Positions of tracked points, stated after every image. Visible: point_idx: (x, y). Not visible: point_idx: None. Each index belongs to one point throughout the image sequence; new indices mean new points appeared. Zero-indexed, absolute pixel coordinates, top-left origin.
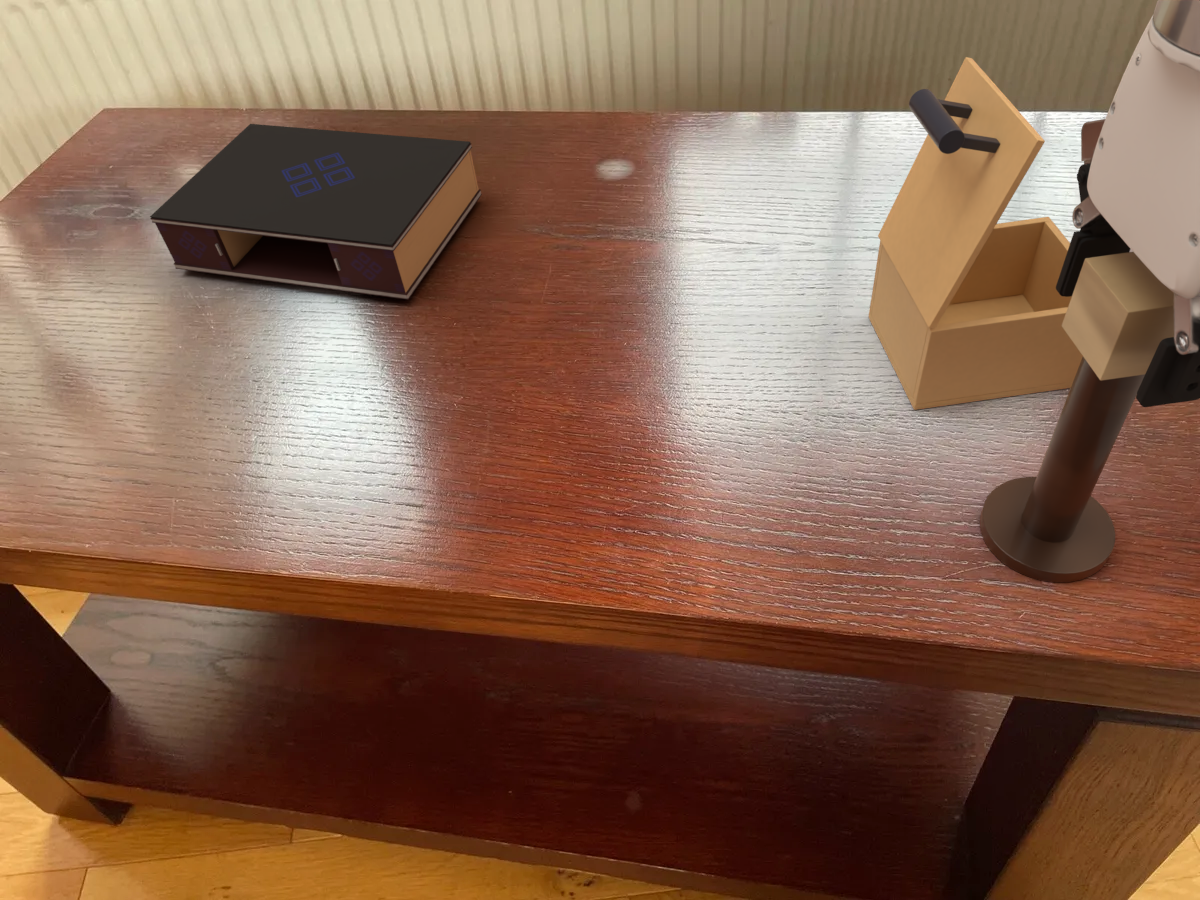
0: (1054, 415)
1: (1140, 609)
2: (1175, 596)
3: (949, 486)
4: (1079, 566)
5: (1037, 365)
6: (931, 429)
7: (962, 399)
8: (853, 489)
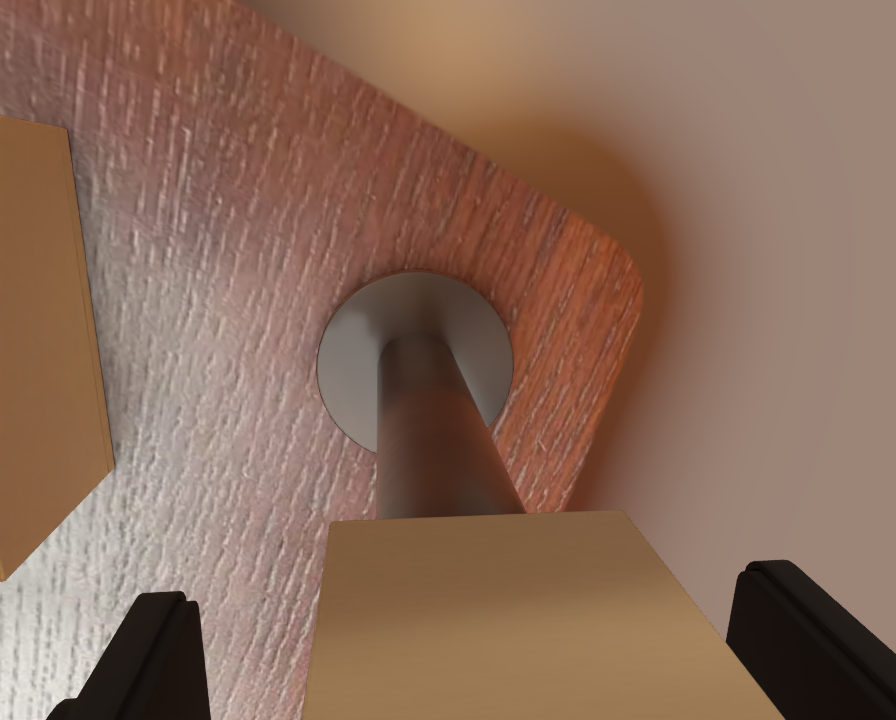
0: (151, 233)
1: (571, 291)
2: (563, 231)
3: (301, 463)
4: (503, 359)
5: (44, 267)
6: (167, 452)
7: (98, 387)
8: (286, 592)
